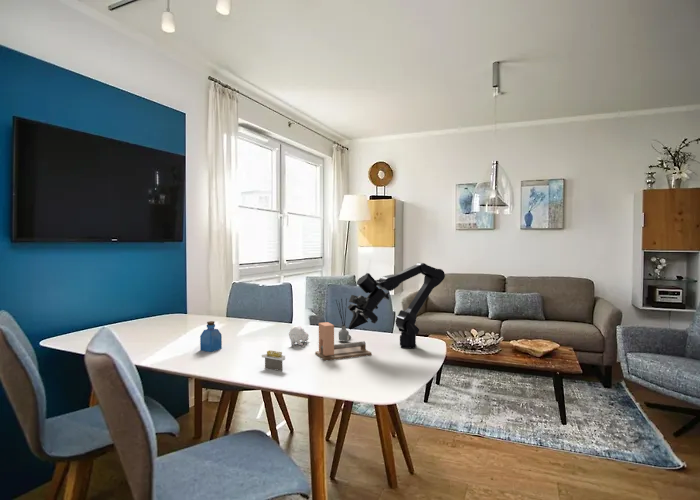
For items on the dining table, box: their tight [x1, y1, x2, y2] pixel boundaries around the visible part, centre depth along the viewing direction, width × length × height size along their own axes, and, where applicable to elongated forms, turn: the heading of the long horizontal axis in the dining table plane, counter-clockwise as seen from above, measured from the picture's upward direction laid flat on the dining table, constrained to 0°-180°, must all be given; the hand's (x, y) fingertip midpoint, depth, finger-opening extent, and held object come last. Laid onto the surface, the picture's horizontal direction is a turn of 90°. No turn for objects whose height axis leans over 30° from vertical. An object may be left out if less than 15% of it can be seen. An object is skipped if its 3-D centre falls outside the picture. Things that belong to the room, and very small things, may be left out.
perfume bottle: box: [199, 320, 223, 353], centre depth 183 cm, size 6×6×12 cm
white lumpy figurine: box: [288, 325, 309, 346], centre depth 193 cm, size 6×8×12 cm
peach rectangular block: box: [318, 321, 335, 356], centre depth 171 cm, size 4×7×12 cm, turn 24°
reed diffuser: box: [335, 298, 352, 342], centre depth 197 cm, size 10×7×20 cm
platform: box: [261, 350, 286, 372], centre depth 155 cm, size 12×18×7 cm, turn 61°
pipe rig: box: [314, 340, 372, 362], centre depth 174 cm, size 20×11×5 cm, turn 114°
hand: (349, 328), depth 175 cm, fingers closed
